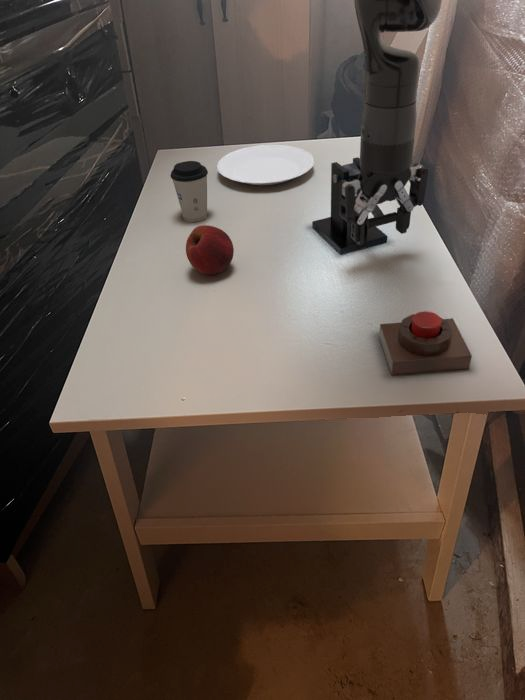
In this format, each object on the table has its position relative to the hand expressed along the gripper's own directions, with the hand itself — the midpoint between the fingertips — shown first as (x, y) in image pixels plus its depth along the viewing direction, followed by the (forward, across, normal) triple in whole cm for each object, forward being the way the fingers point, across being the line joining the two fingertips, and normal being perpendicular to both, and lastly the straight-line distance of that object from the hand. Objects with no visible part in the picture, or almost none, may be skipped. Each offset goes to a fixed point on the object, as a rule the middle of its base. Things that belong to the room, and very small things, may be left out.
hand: (380, 236), depth 94 cm
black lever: (-4, 0, +6) cm, 7 cm away
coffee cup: (+5, -22, +30) cm, 38 cm away
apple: (+5, -26, +10) cm, 28 cm away
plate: (+5, -2, +43) cm, 43 cm away
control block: (+4, -7, -23) cm, 24 cm away
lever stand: (+4, 0, +10) cm, 11 cm away
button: (+1, -7, -23) cm, 24 cm away
